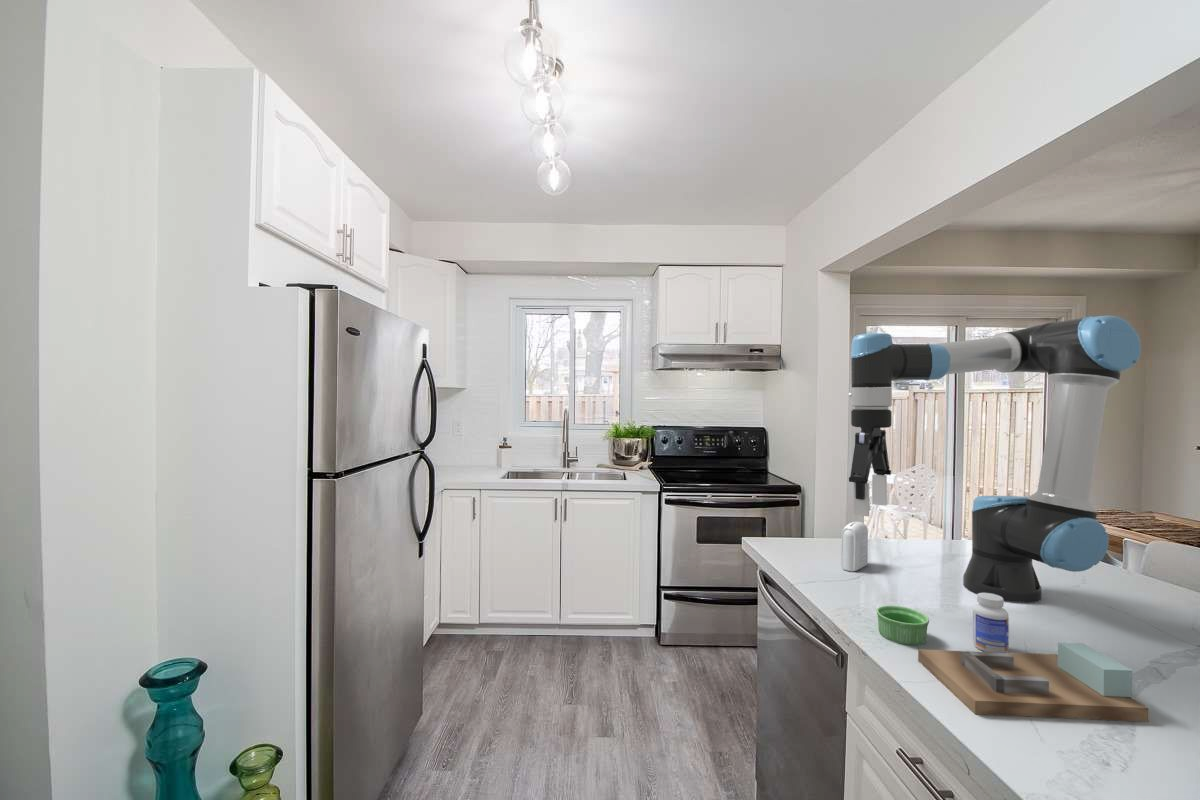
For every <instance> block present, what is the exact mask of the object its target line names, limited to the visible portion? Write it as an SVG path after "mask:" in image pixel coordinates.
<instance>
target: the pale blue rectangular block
mask: <svg viewBox="0 0 1200 800" xmlns="http://www.w3.org/2000/svg"><path fill="white" fill-rule="evenodd" d="M1057 655H1058V667H1059V668H1061V669H1062V670H1064V671H1065V672H1067V673H1069V674H1070V675H1072V676H1073V677H1075V678H1076V679H1078V680H1079V681H1081V682H1083V683H1084V684H1086V685H1087V686H1089V687H1090V688H1092V689H1094V690H1095V691H1097V692H1098V693H1100V694H1101V695H1103V696H1116V697H1131V698H1133V670H1132V669H1131V668H1129V667H1127V666H1125V665H1123V664H1121V663H1119V662H1118V661H1116V660H1114V659H1112V658H1111V657H1109V656H1107V655H1105V654H1103V653H1101V652H1100V651H1098V650H1096V649H1094V648H1092V647H1091V646H1090V645H1087V644H1085V643H1084V642H1083V643H1082V642H1081V643H1080V642H1079V643H1078V642H1057Z"/></svg>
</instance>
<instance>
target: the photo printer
mask: <svg viewBox="0 0 1200 800" xmlns="http://www.w3.org/2000/svg"><path fill="white" fill-rule="evenodd" d="M868 544H869V528H868V527H867V524H865V523H864V522H862V521H852V522H849V523H848V524H846V525H845V526H844V528H843V529H842V532H841V562H840V563H841V569H843V570H844V571H847V572H856V571H858V570H861V569H863V568H864V567H866V566H867V565H868V561H869V560H868V559H869V558H868V556H869V554H868V553H869V552H868V551H869V550H868V549H869V545H868Z"/></svg>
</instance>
